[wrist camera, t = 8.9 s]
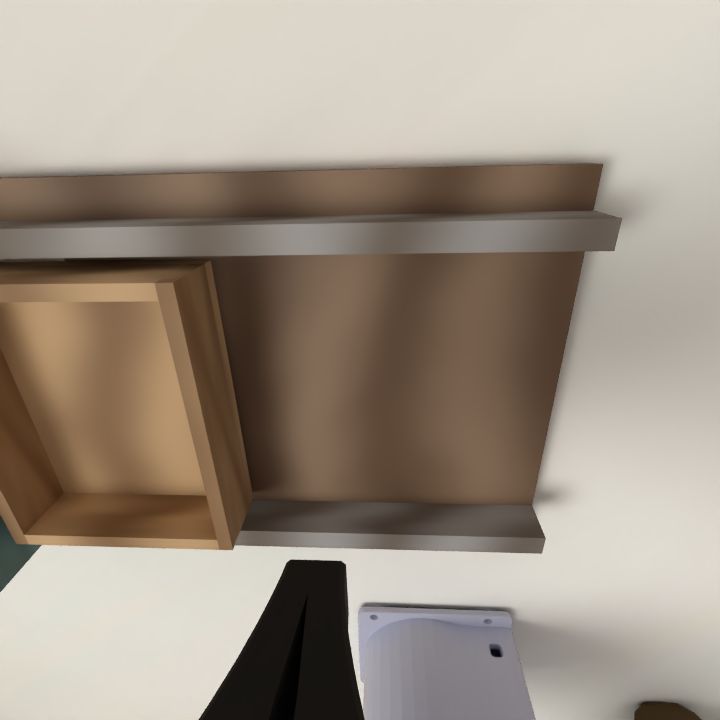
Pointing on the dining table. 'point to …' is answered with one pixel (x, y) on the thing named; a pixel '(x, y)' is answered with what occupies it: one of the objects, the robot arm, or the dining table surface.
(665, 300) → the dining table surface
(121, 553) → the dining table surface
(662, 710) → the brown knobbed bar
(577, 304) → the dining table surface
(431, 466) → the bay
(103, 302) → the box
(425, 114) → the dining table surface
